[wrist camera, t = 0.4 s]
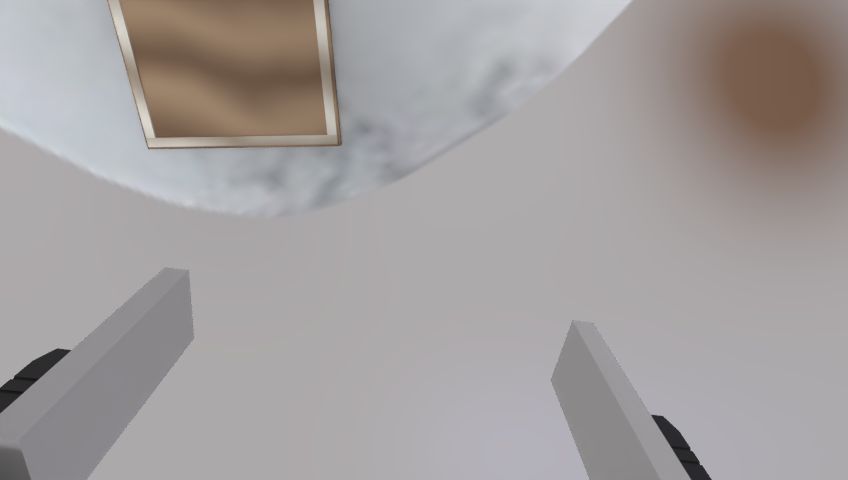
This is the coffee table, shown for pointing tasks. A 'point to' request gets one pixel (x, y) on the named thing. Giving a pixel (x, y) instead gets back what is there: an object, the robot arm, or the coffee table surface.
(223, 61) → the board
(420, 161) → the coffee table surface
